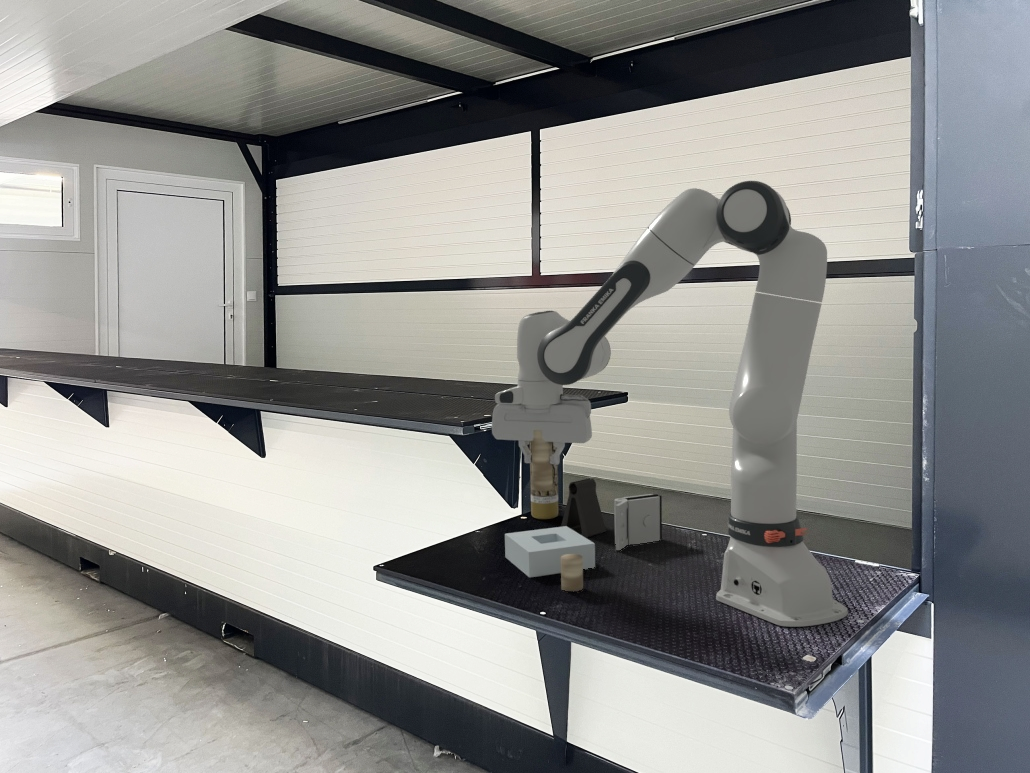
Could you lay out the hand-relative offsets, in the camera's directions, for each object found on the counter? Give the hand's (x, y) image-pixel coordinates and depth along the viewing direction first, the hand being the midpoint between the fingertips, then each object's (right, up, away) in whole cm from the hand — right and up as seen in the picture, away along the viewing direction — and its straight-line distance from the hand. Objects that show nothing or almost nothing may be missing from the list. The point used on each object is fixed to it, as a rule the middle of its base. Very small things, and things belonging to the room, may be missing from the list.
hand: (542, 463), depth 159 cm
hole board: (+2, -21, +5) cm, 21 cm away
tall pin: (0, -5, 0) cm, 5 cm away
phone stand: (+10, -19, +27) cm, 34 cm away
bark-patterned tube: (+2, -17, +41) cm, 44 cm away
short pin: (+5, -22, -11) cm, 25 cm away
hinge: (+21, -19, +16) cm, 33 cm away
